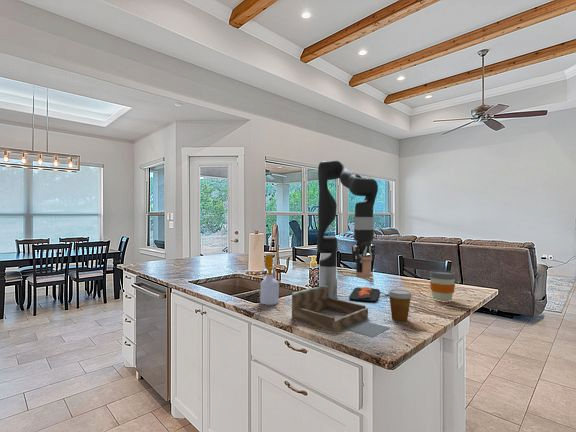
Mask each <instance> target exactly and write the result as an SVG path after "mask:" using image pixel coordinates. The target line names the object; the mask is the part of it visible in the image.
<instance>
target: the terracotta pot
mask: <svg viewBox="0 0 576 432" xmlns="http://www.w3.org/2000/svg"><path fill="white" fill-rule="evenodd" d="M366 255H367V251H366V253H365V257H362V260H363V261H362V272H361V273H359V272H357V271H355V276H356V277H357V278H361V279H362V278H363V279H368V278H371V276H372V261H373V259H372V255H371V256H366ZM355 258H356V255H355ZM371 260H372V261H371Z"/></svg>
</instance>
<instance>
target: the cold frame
mask: <svg viewBox="0 0 576 432" xmlns="http://www.w3.org/2000/svg"><path fill="white" fill-rule="evenodd" d="M328 287H329V285H323V286H319V285H318V286H315V287H312V288H308V289H302V290H299V291H293V292H291V319H292V320H295V319H296V320H295V321H300V322H302V321H303V322H302V323H305V322H306V324H308V323H309V325H311V324H312V326H315V325H316V327H318V326H319V328H321V327H322V328H321V329H325V330H327V331H328V330H329V331H331V332H334V333H336V332H338V331H340V330H342V329H345V328H348V327H350V326H352V325H354V324H357V323H359V322H361V321H365V320H366V319H368V316H369V314H368V313H369V312H368V311H369V308H367V307H366V305H364V304H359V303H354V302H352V301H346V300H342V299H337V298H335V299H333V298H329V297H328ZM325 309H328V310H332V311H336V312H339V313H344V314H346V315H343V316H342V317H341V316H340V317H338V318H336V319H335V316H332V315H328V314H325V313H320V312H321V311H322V310H325Z"/></svg>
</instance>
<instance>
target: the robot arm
mask: <svg viewBox="0 0 576 432" xmlns="http://www.w3.org/2000/svg"><path fill="white" fill-rule="evenodd" d="M317 168H318V169H317V174H318V175H317V176H318V178H317V179H318V206H317V209H318V211H317V213H318V215H317V216H318V218H317V219H318V222H317V223H318V225H317V227H318V228H317V237H316V251H317V252H318V253H320V254H330V255H329V256H327V257H325V258H322V259H319V262H318V264H319V265H318V266H319V269H318V271H319V272H318V273H319V276H318V287H319V286H323V285H329V287H328V297H329V298H333V299H337V297H338V279H337V259H338V258H337V256H338V255H337V254H338V253H337V252H338V238H337V236H332V235H330V236H328V235H325V233H326V232H327V229H328V228H329V227H330V225H332V224H333V222H334V220H335V218H337V209H338V208H337V207H338V206H337V205H338V204H337V202H336V200H335V198H334V196H333V195H332V193H331V192H330V190H329V188H328V182H329V181H331V180H332V181H333V180H337V179H339V181H340V184H342V186H344V187H345V188H347V189H348V190H349V192H350V193H351V194H352V195H354V196H356V197H358V196H359V197H365V198H364V200H363V201H360V202H356V203H355V206H354V221H353V232H354V233H353V240H354V241H356V243H355V245H352V246H351V255H352V256H351V258H352V262H355V265H356V269H355V270H356V271H357V272H359V273H361V272H362V261H363V260H362V257H365V253H366V251H367V255H366V256H372V260H371V262H373V260H375V253H376V245H375V244H372V243H371V242H373V241H374V239H375V237H374V234H375V232H374V230H375V225H374V224H375V223H374V222H375V221H374V206H375V202H376V198H377V194H378V190H379V184H378V182H377V181H376V180H375V179H374V178H365V177H364V178H363V177H362V176H361V175H360V174H358V173H356V172H354V171H351V170H350V169H348V168H347V167H346V165H344V164H343V163H342V162H341V161H340V160H338V159H335V160H334V159H333V160H325V161H320V162H319V164H318V167H317ZM355 256H356V258H355ZM356 271H355V272H356Z"/></svg>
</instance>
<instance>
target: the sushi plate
mask: <svg viewBox="0 0 576 432" xmlns="http://www.w3.org/2000/svg"><path fill="white" fill-rule="evenodd" d="M380 294H382V296H379V295H380ZM383 297H389V294H387V293H385V292H382V291H380V289H379V288H371V287H367V286H364V287H360V286H359V287H358V286H357V287H355V288H354V289H353V290H352V291H351V293H350V295H349V299H350V300H354V301H359V302H361V301H362V302H376V301H378V299H379V298H383Z"/></svg>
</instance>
